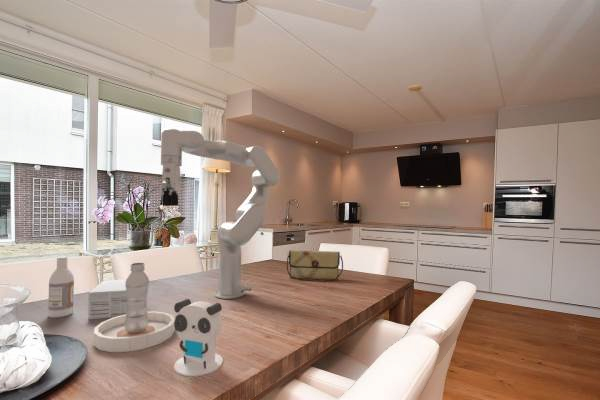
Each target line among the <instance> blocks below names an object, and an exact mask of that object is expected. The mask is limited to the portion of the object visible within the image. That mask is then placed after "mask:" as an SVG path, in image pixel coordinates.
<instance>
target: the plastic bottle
mask: <svg viewBox="0 0 600 400" xmlns="http://www.w3.org/2000/svg"><path fill="white" fill-rule="evenodd" d="M145 270H146V269H145V263H144V262H134V263H131V264H130V270H129V271H130V273H129V275H128V277H127V278H126V282H125V286H126V293H127V311H126V317H125V322H124V326H125V330H126V331H127V332H128V333H139V332H142V331H144V330H146V328H147V327H148V322H149V320H148V314H147V312H148V303H147V301H148V291H149V285H150V278H149V277H148V275H147V274H146V272H145Z"/></svg>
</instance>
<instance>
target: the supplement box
mask: <svg viewBox="0 0 600 400" xmlns="http://www.w3.org/2000/svg"><path fill="white" fill-rule="evenodd" d="M126 279H127V278H126ZM126 279H110V280H102V281H101V282H100V283H99V284H98V285H96V286H95V287H94V288H93V289H91V290H90V291H89V292H88V308H87V309H88V310H87V311H88V313H87V314H88V315H87V318H88V320H95V319H105V318H106V319H107V318H108V319H110V318H113V317H117V316H121V315H125V314H126V311H127V293H126V286H125V282H126Z"/></svg>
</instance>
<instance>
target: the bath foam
mask: <svg viewBox="0 0 600 400" xmlns="http://www.w3.org/2000/svg"><path fill="white" fill-rule="evenodd" d="M74 289H75V279H74V274H73V273H72V271H71V270H70V269H69V268H68V256H58V257H56V268H55V270H53V272H52V274H51V275H50V278H49V281H48V305H47V306H48V308H47V311H48V312H47V314H48V315H47V316H48V317H49V318H52V319H54V318H55V319H56V318H57V319H58V318H64V317H66V316H67V317H68V316H69V315H71V314H73V313H74V293H75V291H74Z"/></svg>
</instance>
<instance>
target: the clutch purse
mask: <svg viewBox="0 0 600 400" xmlns="http://www.w3.org/2000/svg"><path fill="white" fill-rule="evenodd" d="M286 254H287V257H286V270H287V273H288V275H289V278H290V279H295V280H298V281H305V282H307V281H308V282H318V283H319V282H321V283H324V282H325V283H327V282H333V281H335V280H336V281H337V280H339V277H340V276H341V275H342V273H343V270H344V261H343V255H342V254H340V251H332V250H331V251H330V250H329V251H326V250H325V251H324V250H293V249H292V250H289V251H288V252H287V253H286ZM340 260H341V261H340ZM340 262H341V271H340V273H339V266H340ZM288 263H289V264H288ZM316 279H317V280H316Z"/></svg>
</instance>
